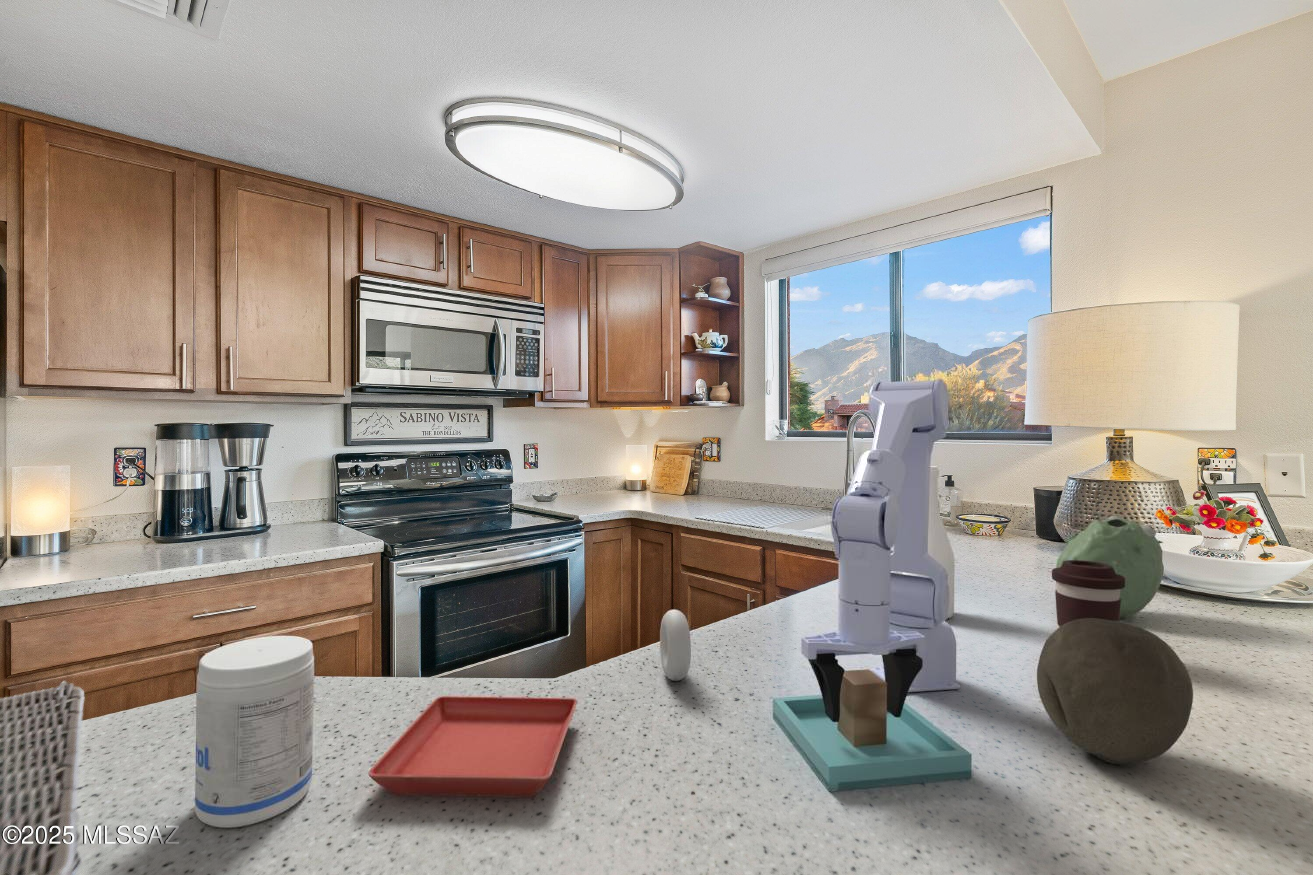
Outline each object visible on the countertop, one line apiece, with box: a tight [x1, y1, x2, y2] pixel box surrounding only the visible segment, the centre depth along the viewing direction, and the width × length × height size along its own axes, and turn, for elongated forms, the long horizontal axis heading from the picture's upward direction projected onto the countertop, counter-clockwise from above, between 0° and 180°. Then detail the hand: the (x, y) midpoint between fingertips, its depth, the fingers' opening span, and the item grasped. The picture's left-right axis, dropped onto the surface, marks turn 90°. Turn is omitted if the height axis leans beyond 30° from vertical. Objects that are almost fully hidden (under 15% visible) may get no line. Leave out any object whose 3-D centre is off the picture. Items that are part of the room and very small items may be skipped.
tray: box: [772, 694, 973, 792], centre depth 70 cm, size 16×16×2 cm
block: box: [837, 668, 887, 747], centre depth 70 cm, size 4×4×7 cm
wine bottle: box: [902, 465, 956, 620], centre depth 121 cm, size 10×10×30 cm
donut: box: [659, 608, 692, 682], centre depth 89 cm, size 10×4×10 cm, turn 9°
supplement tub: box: [194, 635, 315, 829], centre depth 58 cm, size 10×10×15 cm
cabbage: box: [1055, 515, 1165, 618], centre depth 121 cm, size 16×19×20 cm
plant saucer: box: [367, 695, 579, 798], centre depth 67 cm, size 18×18×3 cm
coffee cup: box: [1051, 560, 1125, 628], centre depth 100 cm, size 10×10×15 cm
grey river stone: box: [1036, 618, 1194, 766], centre depth 68 cm, size 14×14×15 cm
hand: (863, 715), depth 70 cm, fingers open, 7 cm apart
